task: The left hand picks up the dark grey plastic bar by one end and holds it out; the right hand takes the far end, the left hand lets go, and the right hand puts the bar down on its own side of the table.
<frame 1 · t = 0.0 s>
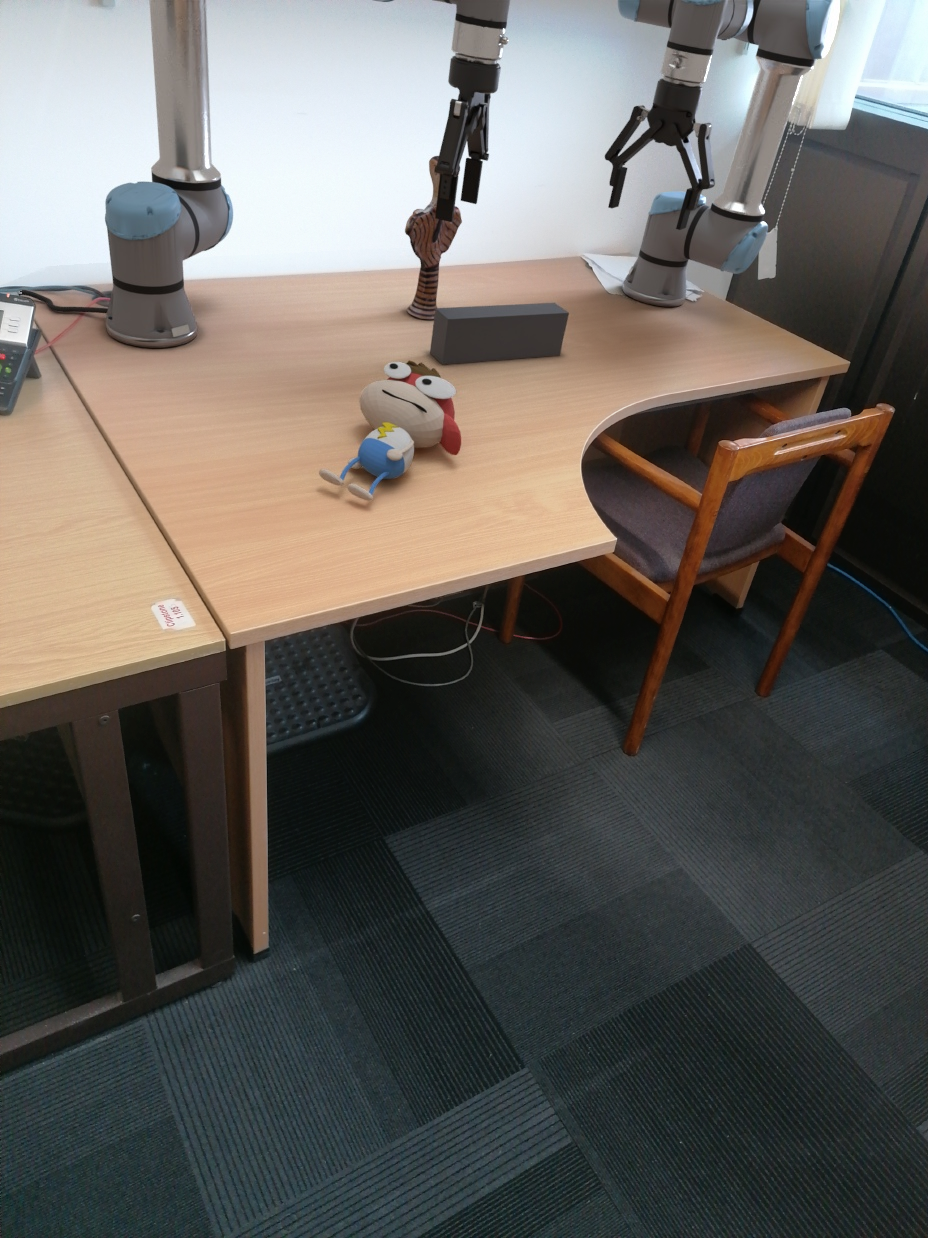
left hand: (456, 210, 144), 28 cm above the table, tool pointing down, fingers open, 13 cm apart
right hand: (646, 217, 159), 28 cm above the table, tool pointing down, fingers open, 13 cm apart
figurine: (425, 314, 184), on the table
toy: (390, 457, 135), on the table
bar: (496, 354, 172), on the table
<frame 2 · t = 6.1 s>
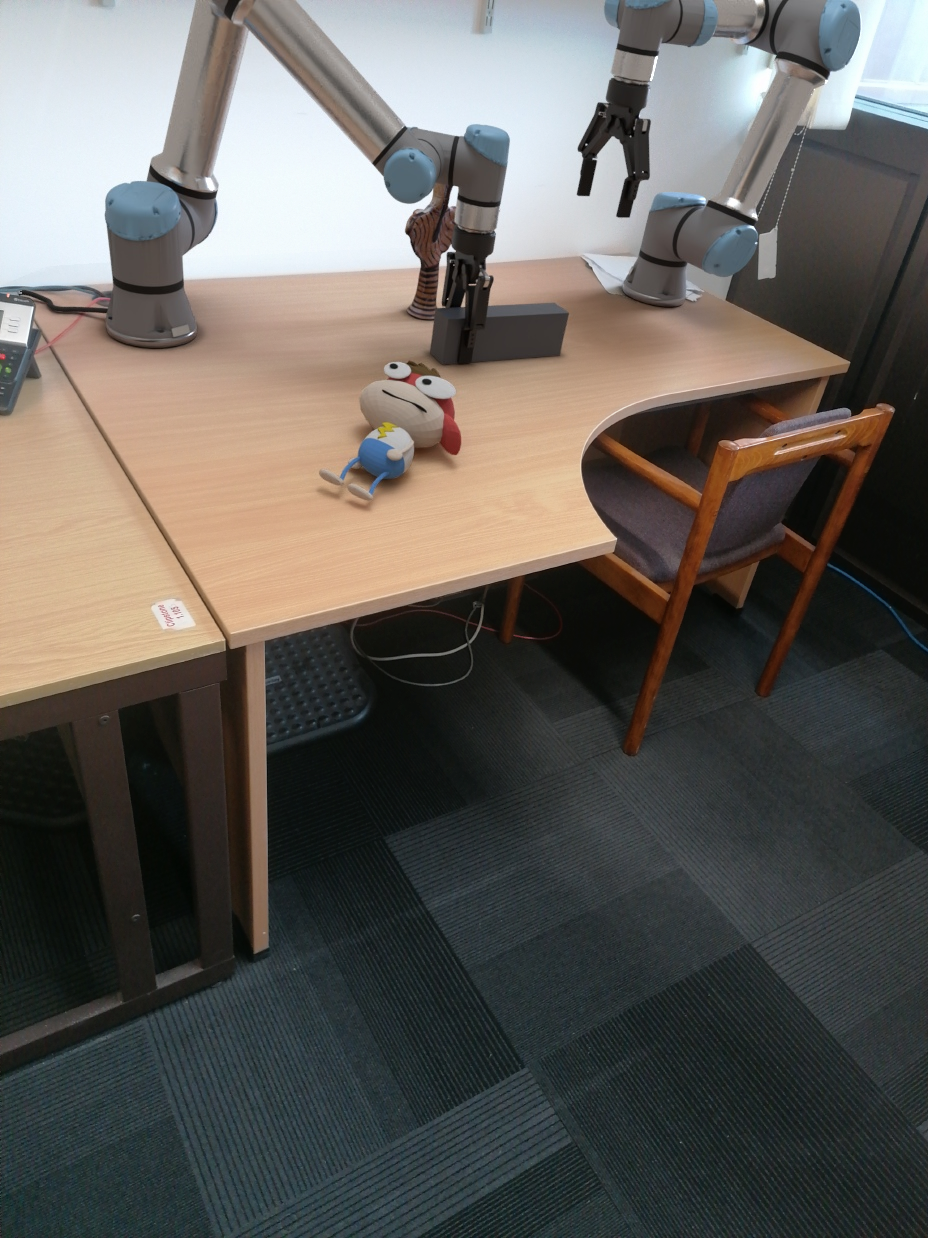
left hand: (456, 354, 168), 0 cm above the table, tool pointing down, fingers closed on bar, 5 cm apart
right hand: (602, 206, 172), 25 cm above the table, tool pointing down, fingers open, 13 cm apart
bar: (496, 354, 172), on the table, touching left hand
everything else where it was.
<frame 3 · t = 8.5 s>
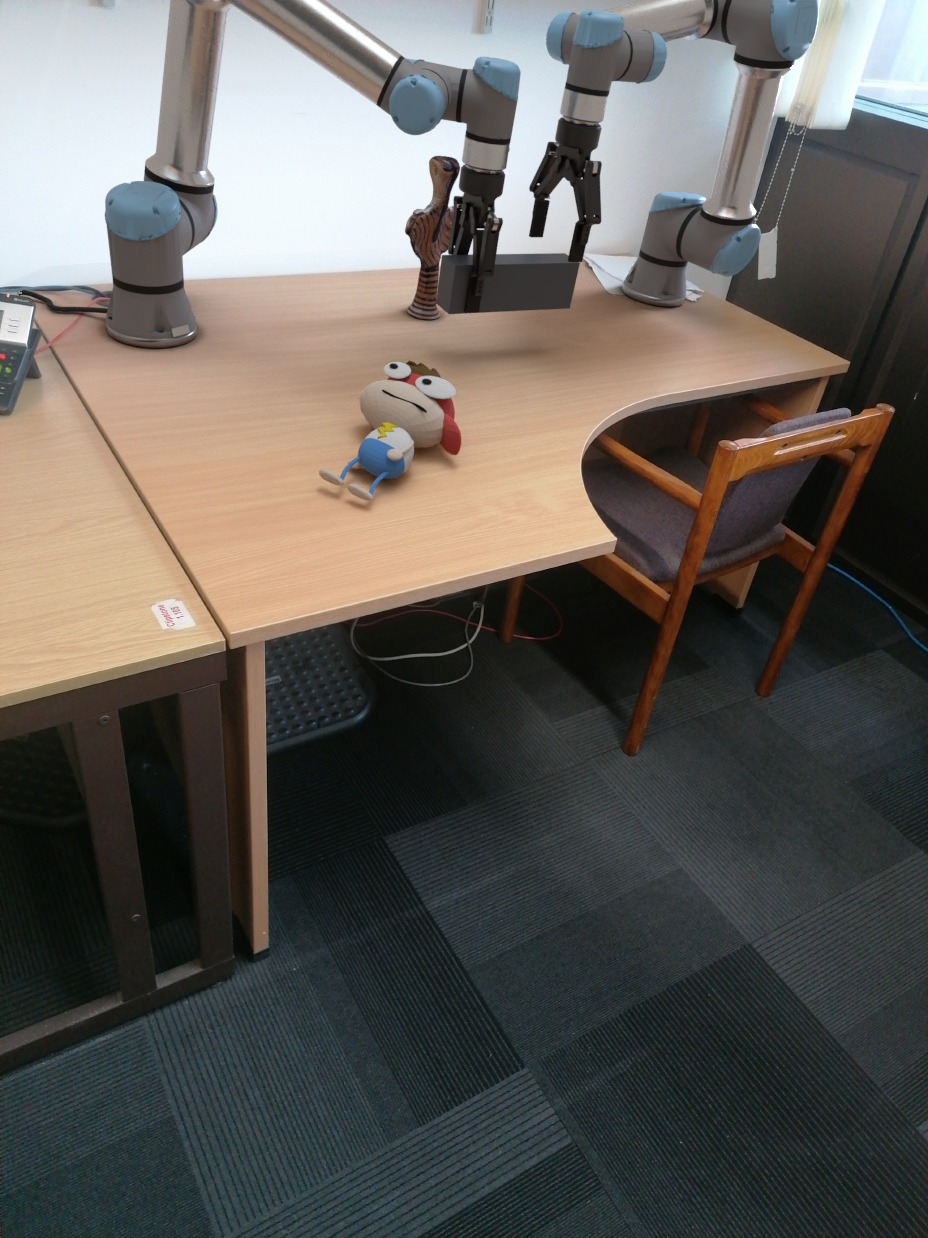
left hand: (463, 305, 162), 10 cm above the table, tool pointing down, fingers closed on bar, 5 cm apart
right hand: (554, 248, 164), 20 cm above the table, tool pointing down, fingers open, 13 cm apart
bar: (504, 305, 167), point 10 cm above the table, touching left hand
everything else where it was.
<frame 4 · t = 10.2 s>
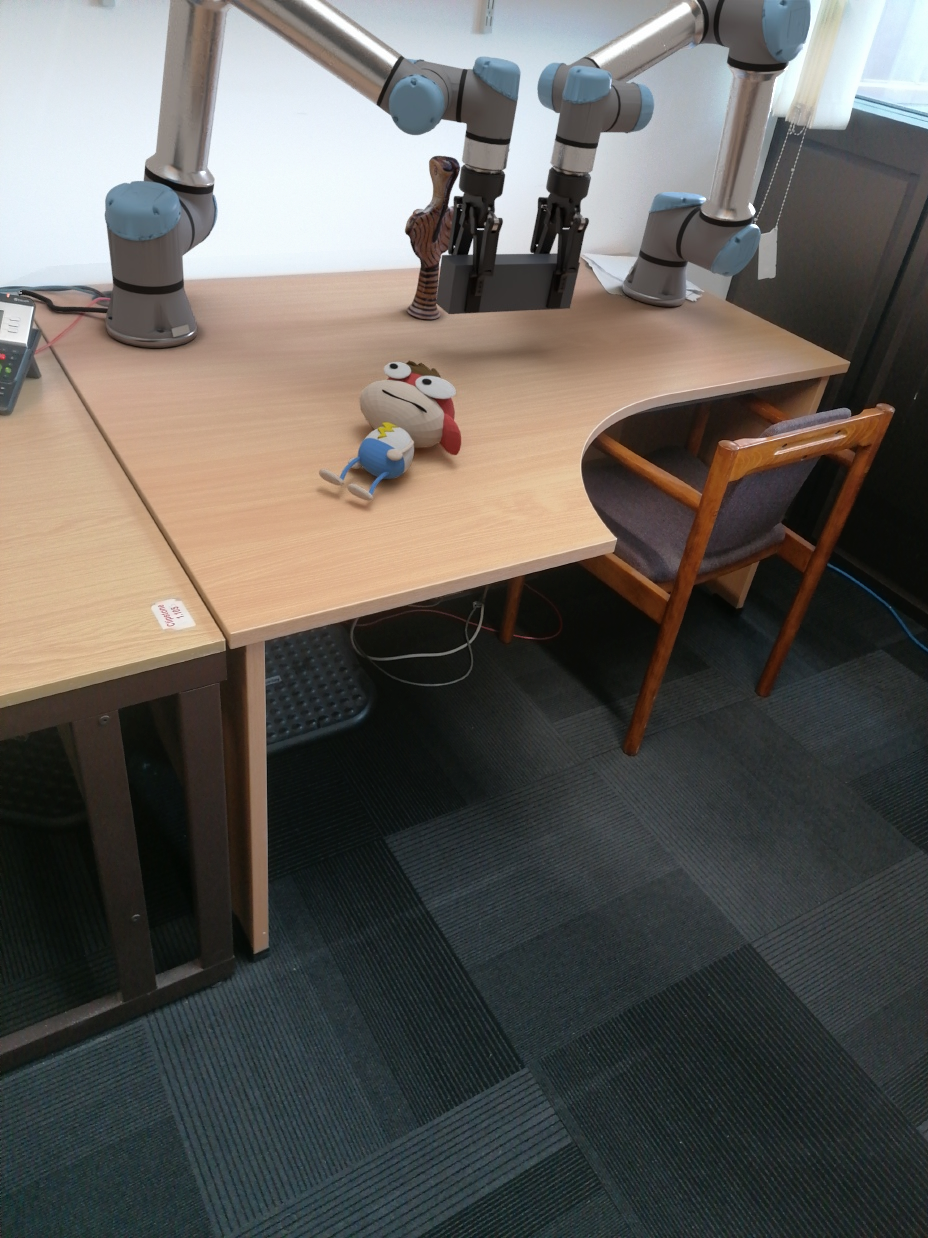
left hand: (463, 305, 162), 10 cm above the table, tool pointing down, fingers closed on bar, 5 cm apart
right hand: (544, 301, 170), 10 cm above the table, tool pointing down, fingers closed on bar, 5 cm apart
bar: (504, 305, 167), point 10 cm above the table, touching left hand, right hand
everything else where it was.
when the left hand's fingers open (10 cm above the table, at t = 11.0 s): bar stays where it is, held by the right hand.
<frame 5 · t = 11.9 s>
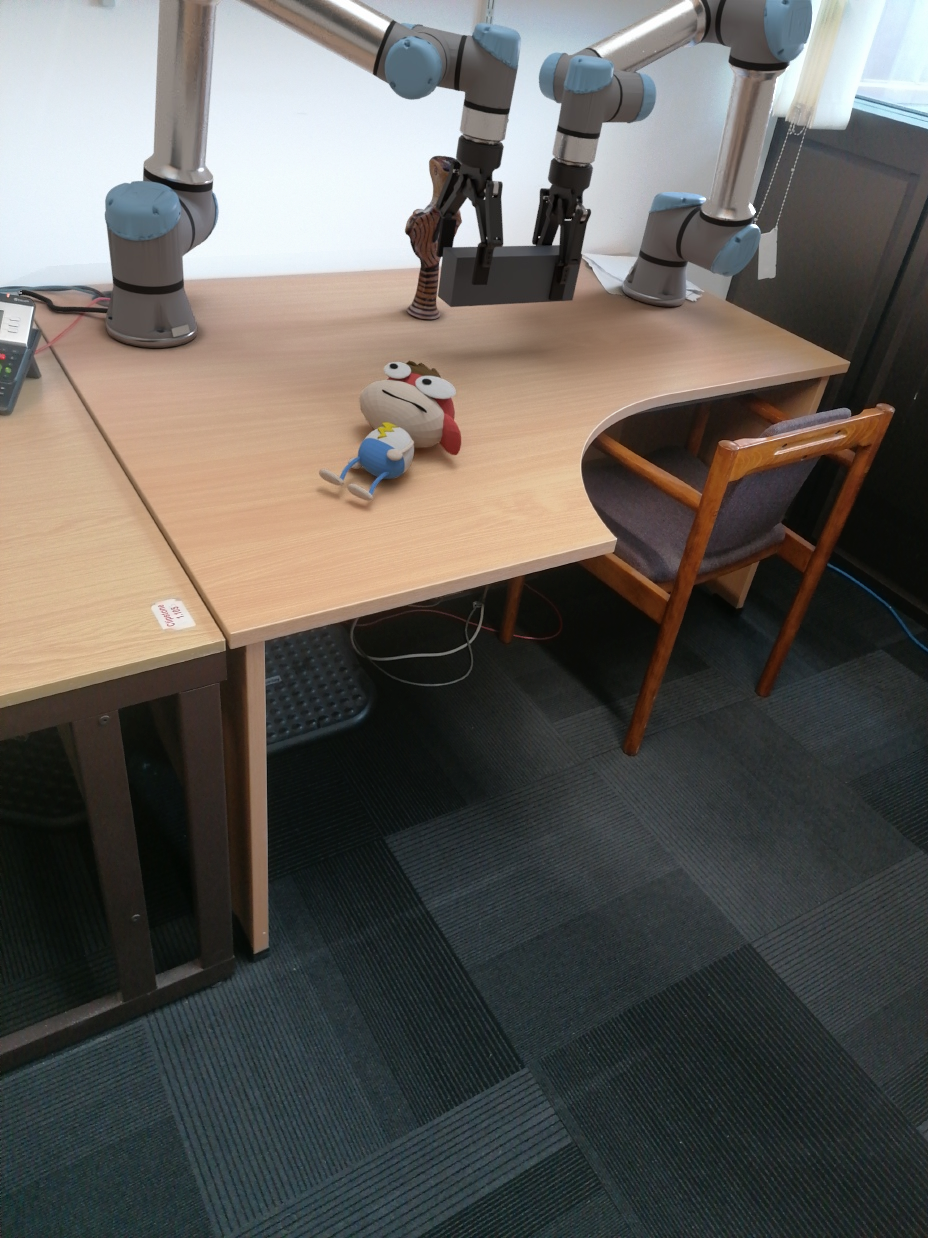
left hand: (460, 269, 158), 16 cm above the table, tool pointing down, fingers open, 13 cm apart
right hand: (547, 293, 169), 12 cm above the table, tool pointing down, fingers closed on bar, 5 cm apart
bar: (506, 298, 166), point 11 cm above the table, touching right hand
everything else where it was.
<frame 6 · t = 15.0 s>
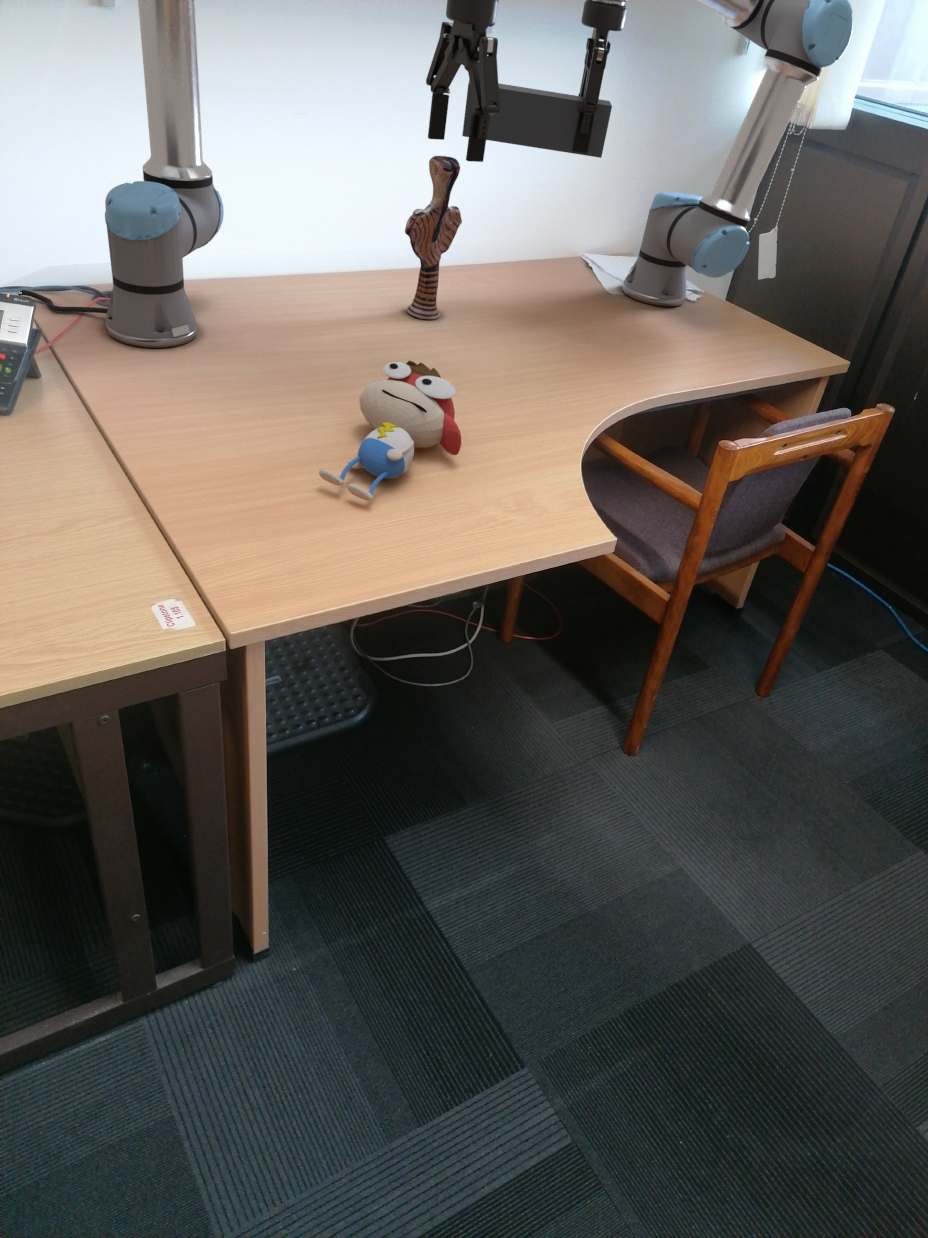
left hand: (454, 149, 144), 36 cm above the table, tool pointing down, fingers open, 13 cm apart
right hand: (578, 147, 169), 34 cm above the table, tool pointing down, fingers closed on bar, 5 cm apart
bar: (531, 143, 169), point 33 cm above the table, touching right hand
everything else where it was.
when the right hand's fingers open (2 cm above the table, at t = 19.9 s): bar drops 2 cm, on the table.
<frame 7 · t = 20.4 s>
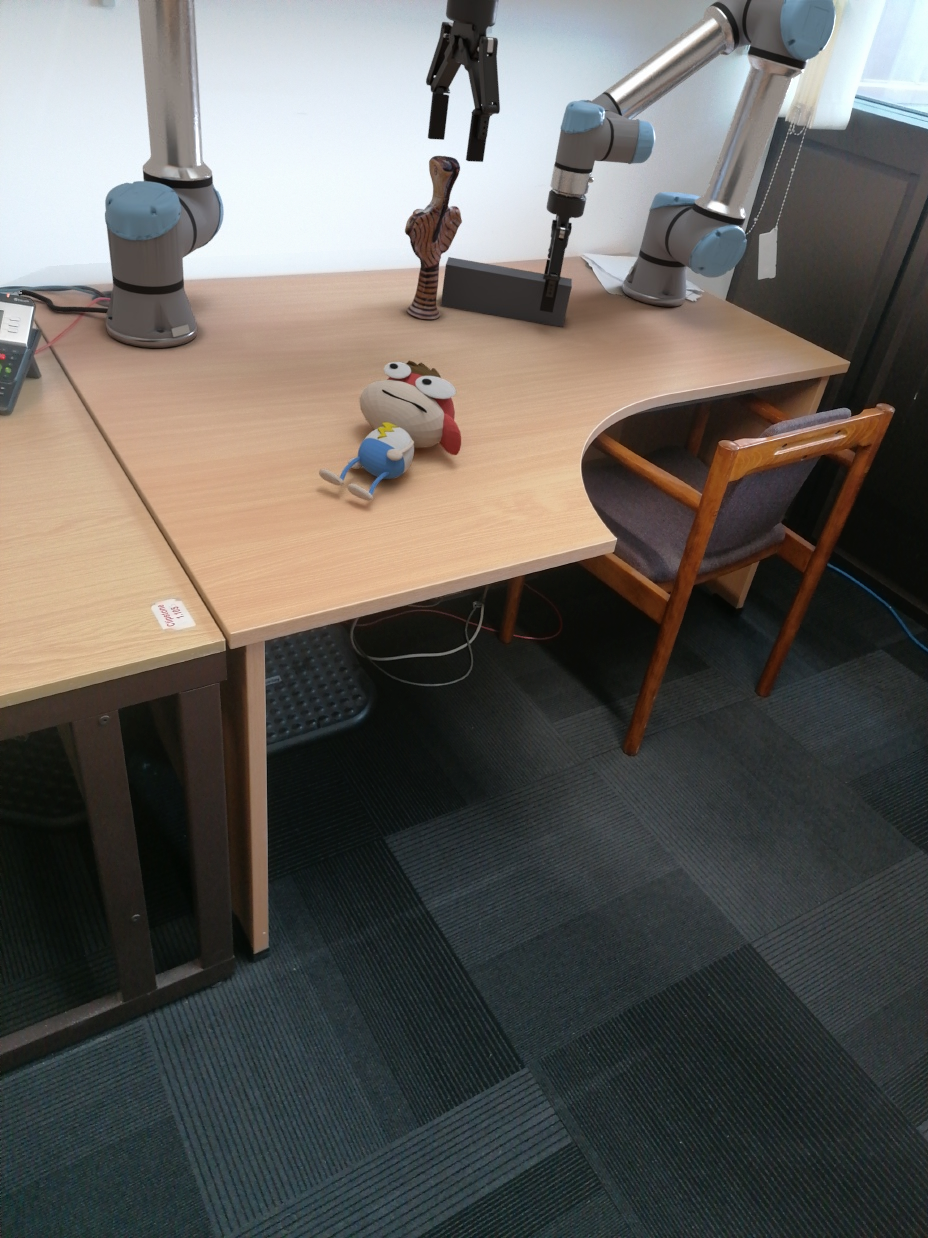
left hand: (454, 149, 144), 36 cm above the table, tool pointing down, fingers open, 13 cm apart
right hand: (546, 300, 189), 4 cm above the table, tool pointing down, fingers open, 12 cm apart
bar: (502, 312, 191), on the table
everything else where it was.
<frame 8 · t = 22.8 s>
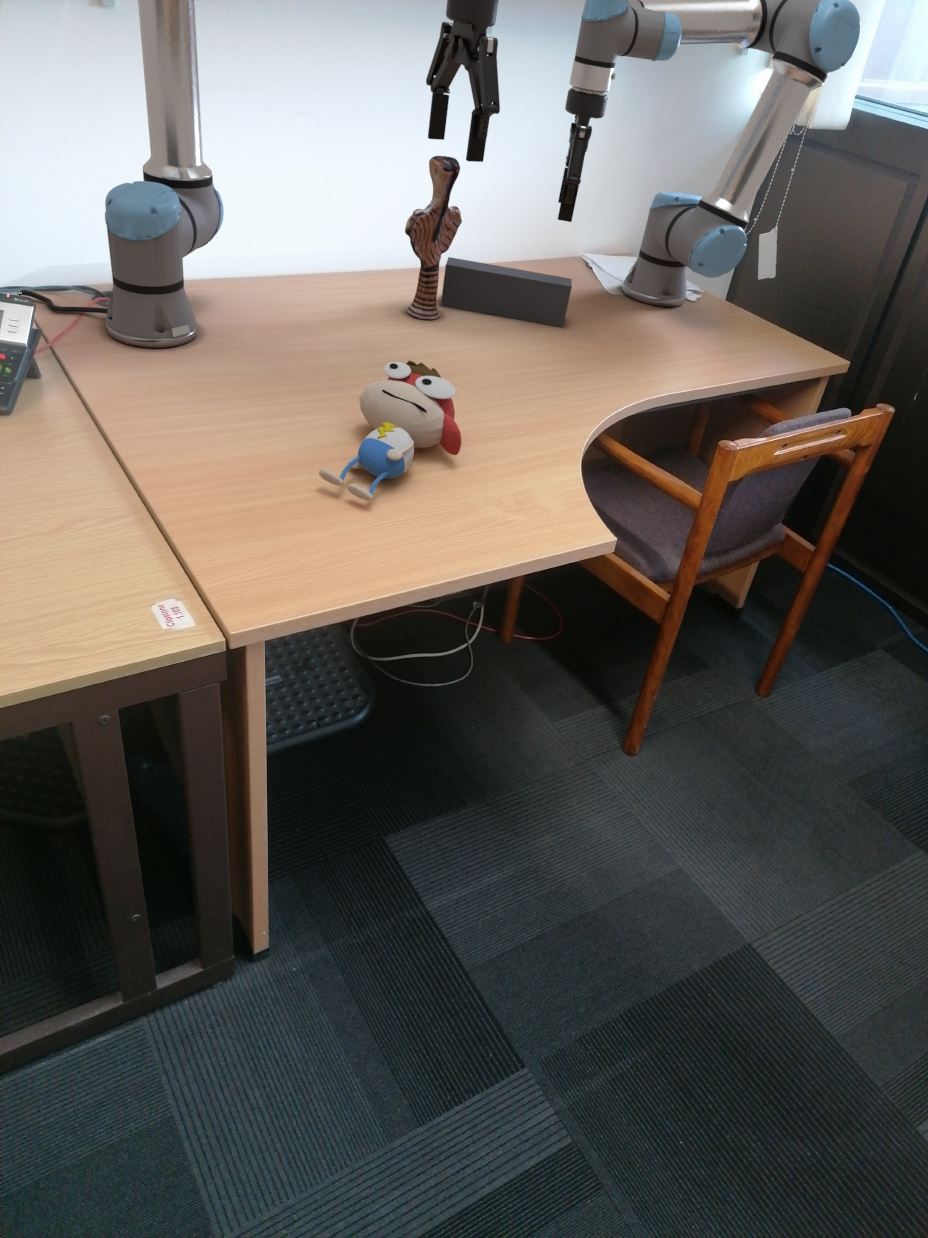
left hand: (454, 149, 144), 36 cm above the table, tool pointing down, fingers open, 13 cm apart
right hand: (564, 211, 178), 22 cm above the table, tool pointing down, fingers open, 13 cm apart
nothing on the table moved.
at the end: bar inside the target area (8.9 cm from its centre), on the table; the left hand is holding nothing; the right hand is holding nothing; bar at rest at the end (0.0 cm/s) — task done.
